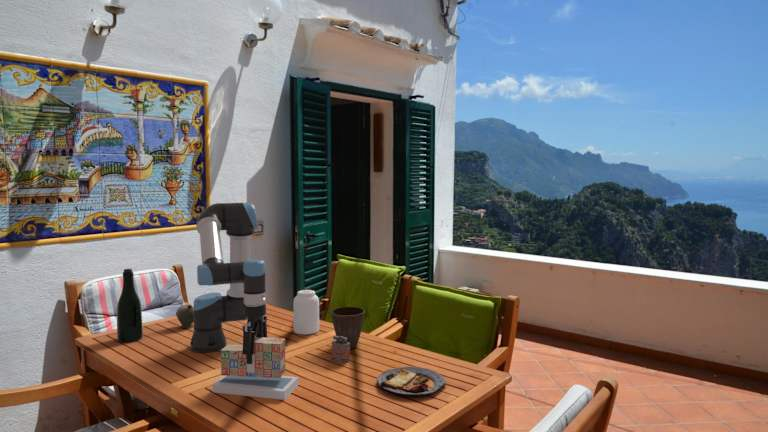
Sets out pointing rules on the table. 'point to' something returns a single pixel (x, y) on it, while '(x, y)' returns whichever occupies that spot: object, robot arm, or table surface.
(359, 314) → the plant pot
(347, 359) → the lighter
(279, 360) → the stack of blocks
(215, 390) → the base board
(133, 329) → the beer bottle
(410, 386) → the food plate
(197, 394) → the table surface
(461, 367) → the table surface
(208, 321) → the robot arm
